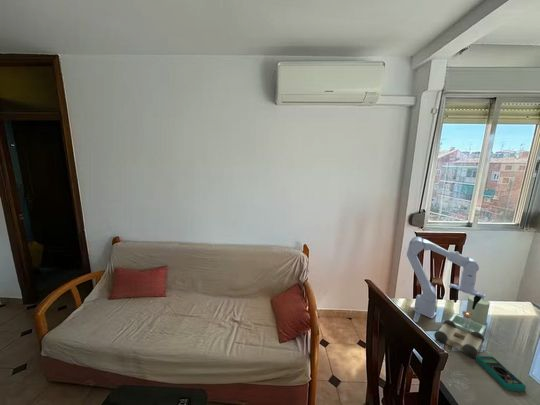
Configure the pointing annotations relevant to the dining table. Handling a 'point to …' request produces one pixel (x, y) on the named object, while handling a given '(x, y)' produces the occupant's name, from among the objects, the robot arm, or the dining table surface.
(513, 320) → the dining table surface
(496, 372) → the digital multimeter
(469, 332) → the tray
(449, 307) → the dining table surface
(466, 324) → the stop pin
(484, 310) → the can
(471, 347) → the trolley
